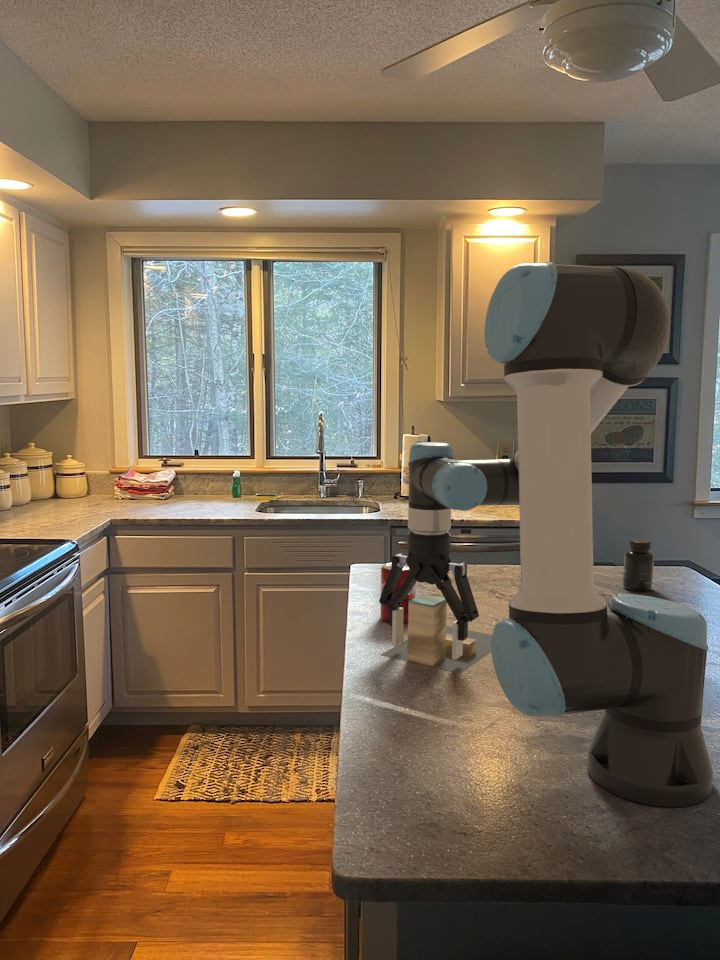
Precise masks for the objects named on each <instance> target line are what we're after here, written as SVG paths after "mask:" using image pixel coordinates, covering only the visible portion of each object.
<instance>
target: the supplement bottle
mask: <svg viewBox="0 0 720 960" xmlns="http://www.w3.org/2000/svg"><path fill="white" fill-rule="evenodd" d="M628 548H629V549H628V550H626V551H625V553H624V558H623V559H624V560H623V571H622V572H623V577H622V586H623V587H622V588H624V589H625V590H627V591H630V592H635V593H636V592H637V593H648V592H651V590H652V589H653V581H654V579H653V578H654V564H655V562H654V561H655V555H654V554H653V552H651V551H650V550H651V540H648V539H643V538H632V539H629V545H628Z"/></svg>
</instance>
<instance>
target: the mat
mask: <svg viewBox="0 0 720 960" xmlns="http://www.w3.org/2000/svg"><path fill="white" fill-rule="evenodd" d="M446 634H451V635H453V626H450V625H446ZM491 637H492V633H491V634H489V633H485V632H480V631H475V630H470V629H468V636H467V638H470V639H475V640H476V653H475V654H474V655H472V656H471V657H469V658H468V657H464V656H460V657H459V658H457V659H456V660H455V659H452V654H450V653H445V658H444V659H443V660H441V661H440V662H438V663H437V664H435V665H434V666H429V665H425V664H421V663H416V662H412V661H408V639H406V640H405V641H404V640H403V642H402V643H400V644H398V645H397V646H393V647H392V648H390V649H388V650H387V651H384V652H383V653H381V654H380V656H383V657H387V658H391V659H396V660H400V661H404V662H409V663H412V664H417V665H421V666H426V667H429V668H433V669H438V670H443V671H447V672H452V673H454V674H462V673H463V672H465V671H466V670H467V669H469V668H470V667H472V666H473V665H475V664H476V663H477V662H478V661H479V662H480V660H482V659H483V658H485V656H487V655H489V654H490V653H491Z"/></svg>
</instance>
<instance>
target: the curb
mask: <svg viewBox="0 0 720 960" xmlns="http://www.w3.org/2000/svg"><path fill="white" fill-rule="evenodd" d="M445 653H450V654H452V635H451V634H446V650H445ZM475 653H476V640H475V639H470V638H467V639H465V640H464V641H463V655H462V656H464V657H468V658H469V657H471V656H472V655H474V654H475Z"/></svg>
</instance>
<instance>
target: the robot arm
mask: <svg viewBox="0 0 720 960" xmlns="http://www.w3.org/2000/svg"><path fill="white" fill-rule="evenodd" d="M670 327H671V318H670V310H669V305H668V303H667V300H666V298H665V296H664V294H663V292H662V291H661V289H660V288H659V287H658V285H657V284H656V283H655V282H654V281H653V280H652V279H650V278H649V277H648V276H647V275H646V274H643V273H642V272H639V271H638V270H636V269H632V268H629V267H622V266H610V267H609V266H608V267H607V266H594V265H582V264H571V263H570V264H569V263H568V264H567V263H554V262H550V261H546V262H542V263H520V264H517V265H515V266H512V267H511V268H510V269H508V270H507V271H506V272H505V273H504V274H503V275H502V276H501V278H500V279H499V280H498V282H497V283H496V286H495V288H494V290H493V292H492V295H491V296H490V299H489V303H488V306H487V310H486V315H485V321H484V330H483V331H484V332H483V333H484V343H485V347H486V349H487V353H488V355H489V357H490V358H491V359H492V360H493V361H494V362H495V361H496V362H497V363H499V364H503V372H504V373H503V374H504V375H503V377H504V378H503V379H504V381H505V382H506V383H507V384H508V385H509V386H510V387H512V389H513V390H514V391H515V392H516V399H517V401H516V402H517V403H516V404H517V405H516V406H517V445H518V446H517V447H518V449H517V451H516V452H515V453H514V454H513V456H512V457H511V458H504V459H501V458H500V459H496V458H495V459H464V460H463V459H460V460H459V459H454V454H453V451H454V450H453V447H452V445H451V444H450V443H446V442H433V441H432V442H431V441H428V442H427V441H426V442H425V441H424V442H422V441H421V442H416V443H413V444H411V446H410V448H409V458H408V462H407V465H408V507H407V509H408V511H407V512H408V513H407V528H408V529H409V531H408V533H407V551H408V554H407V555H404V553H397V554H395V555H392V556H391V563H392V567H391V570H390V573H389V575H388V578H387V581H386V583H385V586H384V589H383V591H382V594H381V593H380V597H379V600H378V602H379V605H381V604H382V605H383V604H384V605H386V606H387V607H388V609H389V624H388V626H390V627H391V628H392V629H391V633H392V634H391V646H393V647H395V646H397V645H399V644H401V643H402V642H404V625H403V612H404V608H402V607H399V608H398V606H400V605H401V603H402V601H403V600H404V598H405V597H406V596H407V594H408V593H409V592H410V590H411V589H412V587H413V586H414V585H415V583H416V584H417V583H427V584H429V585H435V586H436V588H437V590H439V591H440V592H441V595H442V596H443V598H445V600H446V601H447V606H448V607H449V608H450V610H451V612H452V614H453V616H454V618H455V621H453V622H452V627H453V635H452V659H455V660H456V659H457V658H459V657H460V656H462V655H463V641H464V640H465V639H467V636H468V630H469V622H473V621H475V620H476V619H478V618H479V617H480V614H479V610H478V607H477V603H476V600H475V598H474V594H473V591H472V588H471V584H470V581H469V578H468V572H467V571H468V565H467V563H466V562H461V563H455V562H452V561H451V558H450V553H451V541H452V540H451V539H452V537H451V536H452V534H451V533H450V530H451V528H452V525H451V524H452V510H453V511H465V512H466V511H471V510H473V509H475V508H477V507H480V506H481V507H484V506H501V505H503V506H504V505H519V506H518V507H519V547H520V548H519V549H520V550H519V551H520V558H519V559H520V588H519V589H518V591H517V592H516V593H515V594H514V595H512V597H511V598H510V599H509V600H508V618H503V619H502V620H501V621H500V620H499V621H498V622H497V623H496V624H495V625H494V627H493V632H492V633H491V635H492V637H491V652H490V653H491V659H492V663H493V664H492V665H493V668H494V669H493V670H494V672H495V674H496V675H495V676H496V678H497V681H498V683H499V685H500V687H501V689H502V691H503V694H504V695H505V697H506V698H507V700H508V701H509V703H510V704H511V705H512V706H513V707H514V708H515V709H516V710H517V711H519V712H520V713H521V714H522V715H523V714H524V715H525V716H528V717H547V716H548V717H549V716H550V717H551V716H552V717H554V718H555V717H559V718H560V717H563V716H564V715H570V714H577V713H586V712H594V711H601V710H603V714H602V716H601V718H600V721H599V724H598V726H597V727H596V731H595V733H594V735H593V738H592V740H591V742H590V744H589V747H588V752H587V766H586V767H587V771H588V774H589V775H590V777H591V778H592V780H594V782H595V783H596V784H597V785H599V786H600V787H602V788H603V789H605V790H606V791H608V792H610V793H612V794H614V795H615V796H618V797H621V798H624V799H626V800H629V801H633V802H636V803H640V804H644V805H649V806H650V805H651V806H657V807H668V808H670V807H671V808H677V807H686V806H687V807H688V806H692V805H696V804H698V803H699V804H700V803H701V802H703V801H704V800H706V799H707V798H709V797H710V795H711V793H712V790H713V778H714V771H713V766H712V763H711V759H710V755H709V752H708V748H707V744H706V740H705V737H704V734H703V731H702V716H703V714H702V713H703V703H704V702H703V701H704V700H703V699H704V689H705V688H704V687H705V677H706V666H707V665H706V664H707V653H708V651H709V645H708V624H707V621H706V618H705V617H704V616H703V615H702V614H701V613H700V612H698V611H697V610H695V609H694V608H692V607H690V606H687V605H684V604H681V603H678V602H676V601H671V600H667V599H664V598H659V597H654V596H651V595H650V596H649V595H642V594H632V593H619V594H615V595H613V596H612V597H611V598H610V602H609V603H608V601H606V600H605V598H603V597H602V595H600V594H599V593H598V592H597V591H596V589H595V588H594V586H595V585H594V584H595V583H594V540H593V539H594V536H593V535H594V534H593V532H594V531H593V530H594V529H593V528H594V527H593V486H592V484H593V483H592V481H593V479H592V476H593V475H592V473H593V472H592V435H591V434H592V433H593V432H594V431H595V429H596V428H597V427H598V425H600V423H601V422H602V420H603V419H604V418H605V417H606V416H607V414H608V413H609V412H610V411H611V409H612V408H613V407H614V406H615V404H616V403H617V402H618V400H620V398H621V397H622V396H623V395H624V393H625V392H626V391H627V390H628V388H629V387H634V386H638V385H639V384H641V383H642V382H644V381H645V380H646V378H647V377H648V376H649V375H650V374H651V372H652V371H653V369H655V368H656V366H657V364H658V363H659V362H660V360H661V358H662V356H663V353H664V352H665V349H666V347H667V344H668V340H669V336H670V331H671V330H670V329H671V328H670ZM406 563H407V565H408V567H409V569H410V573H409V574H408V576H407V577H406V578H405V581H404V583H403V584H402V585H401V587H400V588H399V590H398V591H397V592H396V594H395V595H394V597H393V594H394V592H395V589H396V586H397V584H398V581H399V578H400V576H401V573H402V571H403V567H404V566H405V565H406ZM450 571H451V574H452V576H454V581H455V585H456V588H457V592H458V593H457V592H456V590H455V587H454V586H453V584H452V579H451V578H450V576H449V574H448V573H449V572H450ZM392 597H393V598H392ZM608 608H609V610H608Z"/></svg>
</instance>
